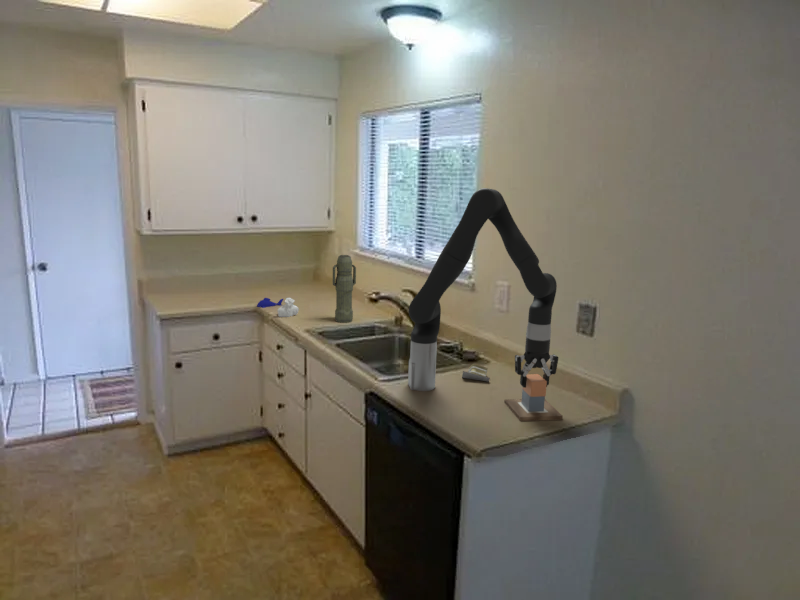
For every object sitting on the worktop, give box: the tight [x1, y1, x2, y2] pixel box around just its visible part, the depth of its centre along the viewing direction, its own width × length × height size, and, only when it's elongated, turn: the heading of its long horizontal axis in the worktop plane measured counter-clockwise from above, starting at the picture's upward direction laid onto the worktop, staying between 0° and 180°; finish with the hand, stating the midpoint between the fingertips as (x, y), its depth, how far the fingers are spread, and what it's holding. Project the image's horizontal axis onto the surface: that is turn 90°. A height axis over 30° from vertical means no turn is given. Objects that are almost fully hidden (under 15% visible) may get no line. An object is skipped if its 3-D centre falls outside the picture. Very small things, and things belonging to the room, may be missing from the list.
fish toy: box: [256, 297, 284, 309], centre depth 322 cm, size 15×8×7 cm, turn 115°
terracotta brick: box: [522, 373, 548, 397], centre depth 185 cm, size 5×7×5 cm
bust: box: [277, 297, 300, 318], centre depth 303 cm, size 12×8×11 cm, turn 125°
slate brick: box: [521, 388, 546, 412], centre depth 186 cm, size 5×7×5 cm
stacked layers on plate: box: [461, 363, 490, 383], centre depth 217 cm, size 10×9×6 cm
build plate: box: [504, 398, 564, 422], centre depth 187 cm, size 14×15×1 cm
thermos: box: [332, 254, 357, 324], centre depth 292 cm, size 9×12×35 cm
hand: (534, 386), depth 185 cm, fingers open, 6 cm apart
